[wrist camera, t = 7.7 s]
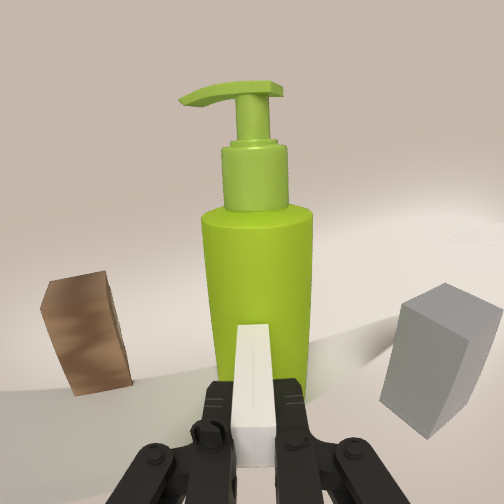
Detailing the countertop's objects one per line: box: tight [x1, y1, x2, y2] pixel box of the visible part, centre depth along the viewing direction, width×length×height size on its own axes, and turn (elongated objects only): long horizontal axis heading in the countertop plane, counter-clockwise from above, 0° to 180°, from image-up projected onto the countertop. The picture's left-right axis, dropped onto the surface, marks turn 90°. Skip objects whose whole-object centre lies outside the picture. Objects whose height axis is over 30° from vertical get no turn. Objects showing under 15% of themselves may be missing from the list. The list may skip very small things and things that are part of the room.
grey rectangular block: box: [379, 283, 503, 440], centre depth 17 cm, size 5×5×8 cm
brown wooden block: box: [40, 271, 133, 396], centre depth 22 cm, size 5×5×8 cm
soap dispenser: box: [179, 81, 313, 399], centre depth 18 cm, size 6×7×20 cm
